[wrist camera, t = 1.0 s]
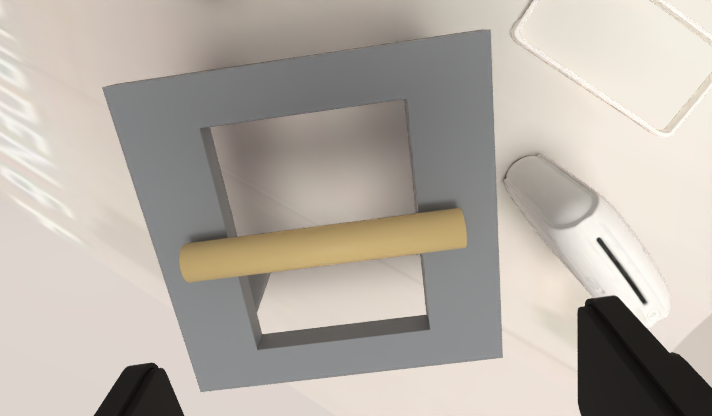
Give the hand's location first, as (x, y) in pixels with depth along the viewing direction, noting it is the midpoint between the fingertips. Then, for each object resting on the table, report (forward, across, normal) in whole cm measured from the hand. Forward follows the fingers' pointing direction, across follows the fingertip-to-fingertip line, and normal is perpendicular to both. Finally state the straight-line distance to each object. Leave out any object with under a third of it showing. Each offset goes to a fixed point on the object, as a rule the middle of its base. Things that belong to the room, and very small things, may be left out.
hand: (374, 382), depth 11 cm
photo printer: (+28, -14, +10) cm, 33 cm away
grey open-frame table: (+28, +3, +3) cm, 28 cm away
